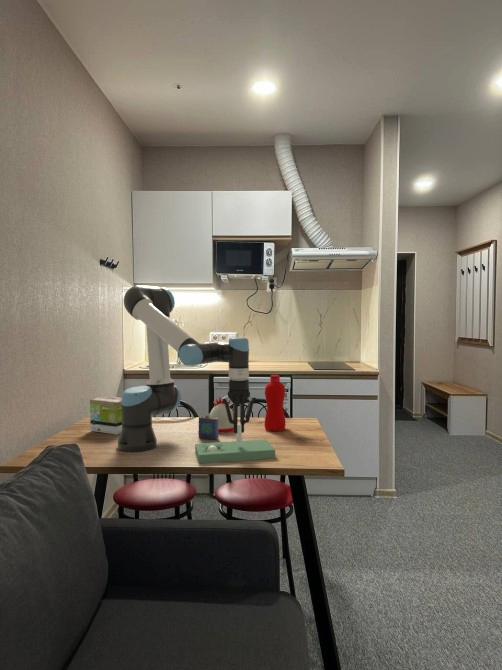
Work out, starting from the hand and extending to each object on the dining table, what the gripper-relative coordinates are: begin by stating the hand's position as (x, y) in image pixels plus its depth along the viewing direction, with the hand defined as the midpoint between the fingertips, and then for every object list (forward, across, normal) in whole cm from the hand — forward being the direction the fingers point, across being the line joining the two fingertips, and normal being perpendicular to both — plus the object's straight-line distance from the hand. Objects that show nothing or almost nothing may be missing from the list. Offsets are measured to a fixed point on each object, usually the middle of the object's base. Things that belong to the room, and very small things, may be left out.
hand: (238, 441), depth 166 cm
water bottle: (+5, +23, +33) cm, 41 cm away
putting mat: (+5, -2, 0) cm, 5 cm away
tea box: (+6, -51, +47) cm, 69 cm away
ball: (+3, -10, 0) cm, 10 cm away
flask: (+5, -9, +24) cm, 26 cm away
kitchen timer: (+5, -1, +39) cm, 39 cm away
